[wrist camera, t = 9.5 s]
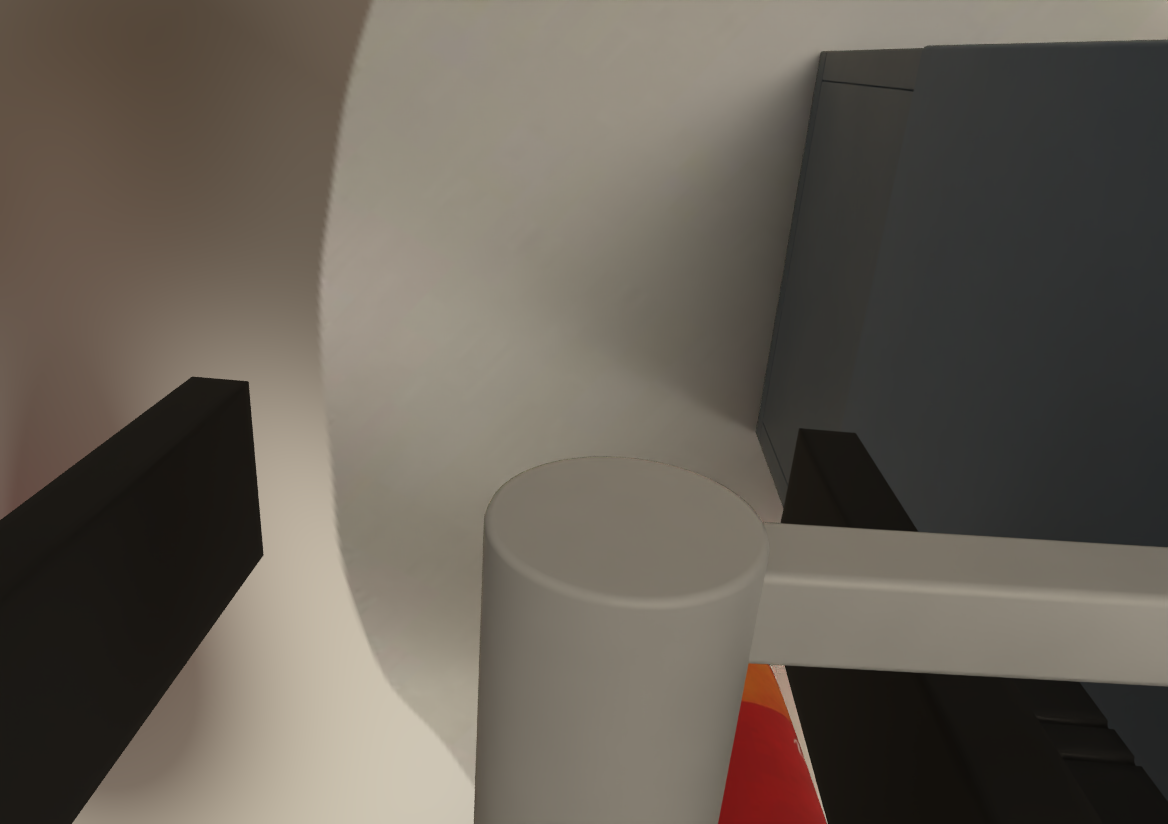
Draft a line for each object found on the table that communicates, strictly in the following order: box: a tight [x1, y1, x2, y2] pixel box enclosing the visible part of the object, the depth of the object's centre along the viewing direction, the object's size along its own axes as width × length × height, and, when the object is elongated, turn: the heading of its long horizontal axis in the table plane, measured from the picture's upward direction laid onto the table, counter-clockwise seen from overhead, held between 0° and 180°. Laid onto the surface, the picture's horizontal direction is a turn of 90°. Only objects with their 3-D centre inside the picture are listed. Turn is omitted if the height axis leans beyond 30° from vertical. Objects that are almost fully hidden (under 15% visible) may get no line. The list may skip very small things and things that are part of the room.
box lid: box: [474, 40, 1168, 824], centre depth 11 cm, size 14×13×8 cm
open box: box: [756, 48, 923, 508], centre depth 23 cm, size 14×13×10 cm
